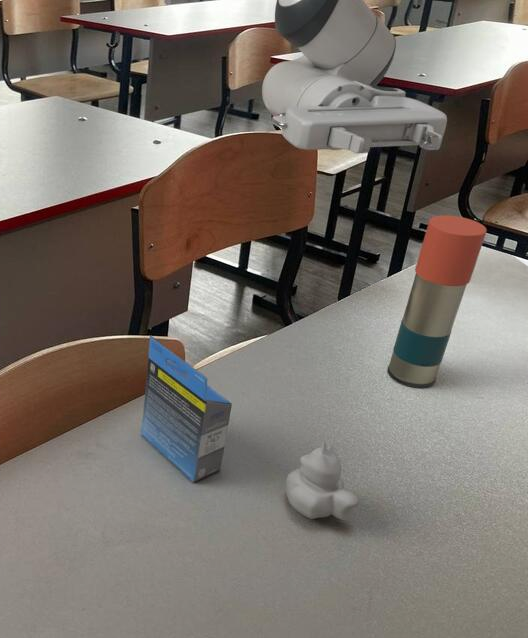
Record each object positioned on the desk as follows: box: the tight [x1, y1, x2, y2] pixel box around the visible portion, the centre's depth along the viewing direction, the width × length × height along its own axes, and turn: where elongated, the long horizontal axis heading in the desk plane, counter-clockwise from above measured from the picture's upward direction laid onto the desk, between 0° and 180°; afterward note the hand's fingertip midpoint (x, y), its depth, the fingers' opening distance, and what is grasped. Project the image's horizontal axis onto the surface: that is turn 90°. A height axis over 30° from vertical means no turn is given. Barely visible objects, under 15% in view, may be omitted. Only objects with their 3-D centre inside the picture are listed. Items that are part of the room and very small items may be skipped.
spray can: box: [387, 272, 468, 389], centre depth 88 cm, size 5×5×14 cm
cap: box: [414, 214, 487, 286], centre depth 83 cm, size 6×6×6 cm
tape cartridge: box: [140, 335, 233, 483], centre depth 75 cm, size 9×4×12 cm, turn 31°
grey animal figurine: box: [285, 439, 359, 521], centre depth 69 cm, size 5×7×8 cm
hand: (400, 145), depth 89 cm, fingers open, 8 cm apart
